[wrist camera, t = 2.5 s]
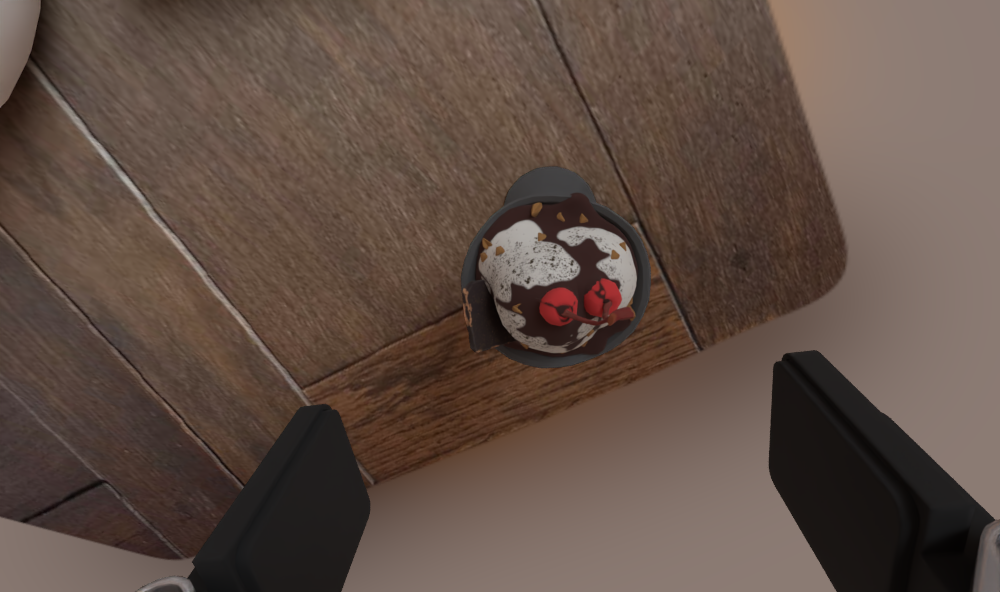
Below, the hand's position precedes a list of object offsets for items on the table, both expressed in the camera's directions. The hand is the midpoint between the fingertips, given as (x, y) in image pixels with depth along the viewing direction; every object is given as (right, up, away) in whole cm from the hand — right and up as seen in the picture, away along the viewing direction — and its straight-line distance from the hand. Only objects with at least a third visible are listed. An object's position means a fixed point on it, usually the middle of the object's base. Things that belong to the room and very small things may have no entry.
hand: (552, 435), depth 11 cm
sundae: (+1, +8, +16) cm, 18 cm away
